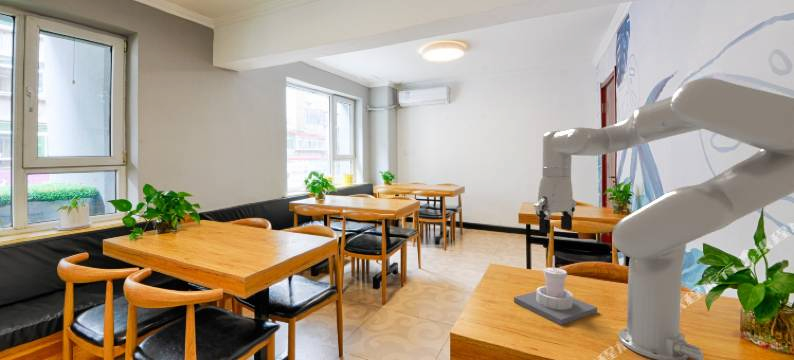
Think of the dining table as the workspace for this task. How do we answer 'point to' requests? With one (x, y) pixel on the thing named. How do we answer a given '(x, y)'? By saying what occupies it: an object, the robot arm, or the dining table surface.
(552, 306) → the duct collar
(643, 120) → the robot arm
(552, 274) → the smoothie
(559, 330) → the dining table surface
